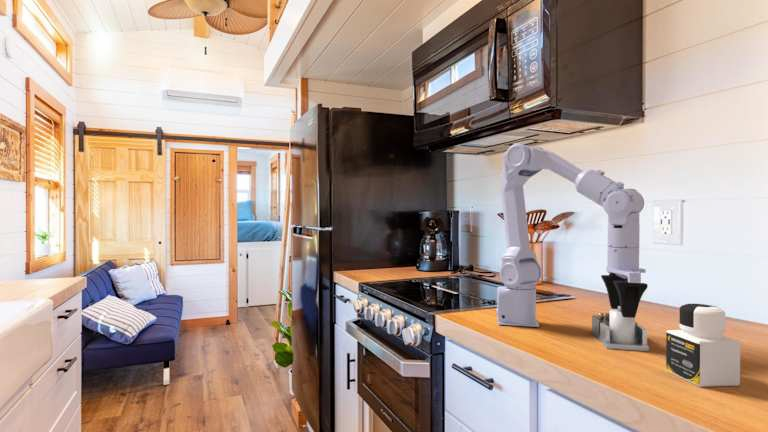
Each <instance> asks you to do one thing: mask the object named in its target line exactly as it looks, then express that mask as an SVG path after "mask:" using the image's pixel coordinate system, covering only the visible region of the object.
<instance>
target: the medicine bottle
mask: <svg viewBox="0 0 768 432" xmlns="http://www.w3.org/2000/svg"><path fill="white" fill-rule="evenodd" d="M665 334H666V335H665V336H666V337H665V338H666V339H665V344H666V346H665V349H666V350H665V352H666V353H665V355H666V356H665V357H666V358H665V370H666V372H668V373H670V374H672V375H674V376H676V377H678V378H680V379H681V380H685V381H686V382H688V383H691V384H692V385H695V386H696V387H699V388H703V387H704V388H706V387H710V388H711V387H739V386H740V384H741V341H740V340H738V339H735V338H732V337H729V336H725V334H726V312H725V311H724V310H723V309H722V308H720V307H718V306H716V305H712V304H711V305H710V304H704V303H703V304H702V303H686V304H683V305H681V306H679V329H668V330H666V333H665Z"/></svg>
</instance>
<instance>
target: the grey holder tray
mask: <svg viewBox="0 0 768 432" xmlns="http://www.w3.org/2000/svg"><path fill="white" fill-rule="evenodd" d="M609 315H610V312H608V313H607V312H606V313H605V312H598V315H597V314H594V315H593V314H592V315H591V333H592V334H593V336H594V337H595V338H596V339H598V341H599V342H600V343H601V344H602V345H603V346H604V348H606V349H609V350H620V351H621V350H623V351H625V350H626V351H637V352H638V351H639V352H640V351H641V352H649V351H650V346H649V345H648V330H647V328H645V327H644V326H643V325H640V324H639V323H638V322H637V321H635V343H633V344H622V343H617V342H613V341H611V340H610V327H609Z"/></svg>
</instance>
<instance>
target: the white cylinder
mask: <svg viewBox="0 0 768 432" xmlns="http://www.w3.org/2000/svg"><path fill="white" fill-rule="evenodd" d="M609 313H610V315H609V327H610V340H611V341H613V342H617V343H622V344H633V343H635V322H636V317H635V318H629V317H623V316H622V313H621V307H620V306H618V309H612V308H611V309H609Z"/></svg>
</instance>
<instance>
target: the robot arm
mask: <svg viewBox="0 0 768 432" xmlns="http://www.w3.org/2000/svg"><path fill="white" fill-rule="evenodd" d="M502 161H503V166H502V171H501V174H500V180H499V185H500V194H501V203H502V212H503V222H504V231H505V233H504V234H505V239H506V250H505V251H504V253H503V255H502V256H501V259H500V260H501V266H500V268H499V277H500V279H501V282H502V283H503V284H504V286H497V296H496V297H497V300H496V302H497V306H496V309H495V313H496V315H495V316H496V318H497V319H496V320H497V325H500V326H514V327H515V326H517V327H532V328H533V327H536V328H539V327H540V324H539V322H538V321H537V316H536V315H537V309H536V308H537V300H536V299H537V289H536V288H537V286H538V285H537V283H538V282H539V281H540V279H541V278H542V273H543V272H542V267H541V265H540V263H539V262H538V260H537V254H536V253H535V251H534V250H533V249H532V248H531V246H530V237H529V228H528V219H527V218H528V216H527V209H526V200H525V192H524V185H525V184H526V182H528V181H529V179H531V178H533V176H536V174H539V173H540V172H542V171H543V170H549V171H550V172H553V174H556V175H558V176H559V177H562V178H564V179H566V180H568V181H569V182H571V183H573V184H574V185H575V190H576V192H577V193H579V194H580V195H582V196H584V197H585V198H587V199H589V200H590V201H592V202H593V203H596V204H597V205H599V206H600V207H602V208H603V210H604V212H606V214H607V264H606V265H607V266H606V268H605V271H606V272H607V274H601V275H600V276H601V279H602V282H603V283H604V286H605V288H606V292H607V295H608V300H609V301H608V302H609V305H610V308H611V309H618V306H620V307H621V313H622V316H623V317H629V318H635V319H636V316H637V313H638V308H639V304H640V302H641V300H642V297H643V295H644V293H645V291H647V289H648V286H649V285H648V284H647V283H646V282H642V278H641V277H642V273H644V274H646V271H647V269H645V268H641V267H640V237H641V236H640V233H641V231H640V228H641V227H640V226H641V225H640V213H641V212H642V211H643V209H644V206H645V199H644V197H643V195H642V194H641V193H640V192H639V191H638V190H637V189H636V188H624V186H625V183H623V182H622V181H617V182H616V181H614V180H613V179H611V178H610V177H607V176H605V171H603V170H601V169H596V170H595V169H589V170H586V171H585V170H582V168H579V167H577V166H576V165H574V164H572V163H571V162H569V161H567V159H565V158H563V157H561V156H560V155H558V154H556V153H555V152H552V151H550V150H547V149H544V148H543V147H540V146H531V145H527V144H523V143H521V142H520V143H519V142H518V143H517V142H516V143H513V144H512V145H511V146H509V147H508V149H507V150H506V151H505V152H504V154H502Z"/></svg>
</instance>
